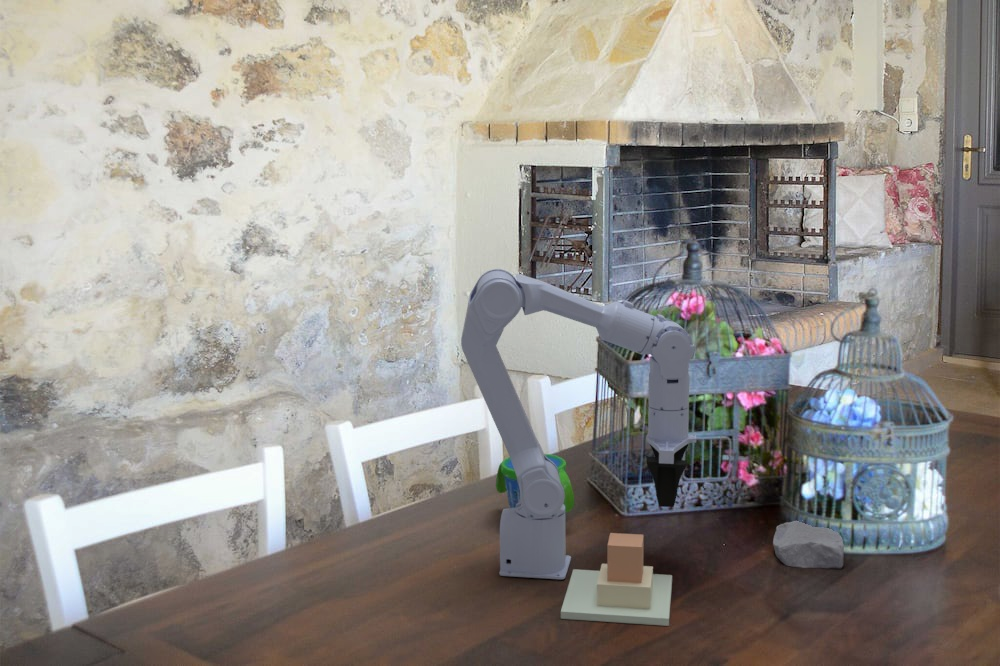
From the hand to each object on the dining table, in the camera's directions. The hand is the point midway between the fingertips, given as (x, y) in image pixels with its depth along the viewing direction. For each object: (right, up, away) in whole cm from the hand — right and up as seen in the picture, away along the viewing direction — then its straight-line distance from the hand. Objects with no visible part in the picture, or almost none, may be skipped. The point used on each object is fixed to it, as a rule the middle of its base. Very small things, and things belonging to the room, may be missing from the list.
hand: (667, 497), depth 157 cm
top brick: (-7, -9, -11) cm, 16 cm away
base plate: (-8, -13, -9) cm, 18 cm away
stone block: (+22, -10, +6) cm, 24 cm away
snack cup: (-19, -7, +20) cm, 29 cm away
